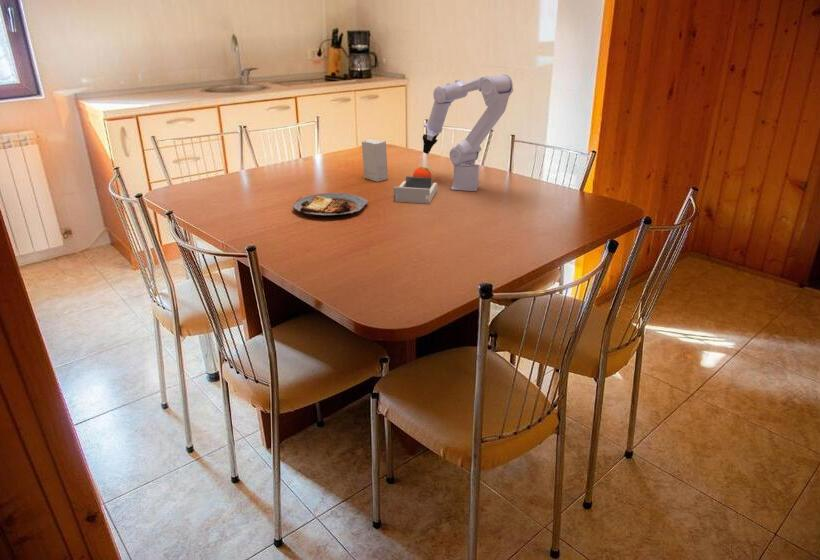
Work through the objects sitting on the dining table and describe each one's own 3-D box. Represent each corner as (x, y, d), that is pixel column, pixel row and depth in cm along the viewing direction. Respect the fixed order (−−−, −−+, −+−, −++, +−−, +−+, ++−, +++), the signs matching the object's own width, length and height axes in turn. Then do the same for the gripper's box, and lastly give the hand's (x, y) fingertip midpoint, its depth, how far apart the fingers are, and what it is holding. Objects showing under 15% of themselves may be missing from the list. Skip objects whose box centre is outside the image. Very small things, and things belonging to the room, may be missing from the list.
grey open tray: (436, 190, 215) (437, 177, 213) (428, 203, 201) (429, 189, 199) (403, 188, 217) (403, 175, 215) (393, 201, 203) (393, 187, 201)
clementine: (434, 183, 224) (434, 164, 221) (433, 188, 218) (433, 169, 215) (413, 182, 225) (413, 164, 222) (411, 187, 219) (411, 168, 216)
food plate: (353, 222, 183) (353, 212, 181) (283, 218, 187) (282, 207, 186) (373, 201, 205) (373, 191, 204) (310, 198, 210) (310, 188, 208)
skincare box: (388, 179, 229) (387, 141, 223) (376, 182, 225) (375, 143, 219) (374, 175, 234) (373, 138, 228) (362, 178, 231) (361, 140, 224)
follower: (431, 191, 213) (431, 177, 211) (430, 192, 212) (431, 178, 210) (406, 190, 215) (406, 176, 213) (405, 191, 214) (405, 177, 212)
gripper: (431, 105, 224) (422, 137, 233) (423, 121, 213) (413, 153, 222) (448, 112, 224) (438, 142, 233) (441, 127, 213) (431, 159, 222)
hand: (427, 148), depth 228 cm, fingers open, 7 cm apart
